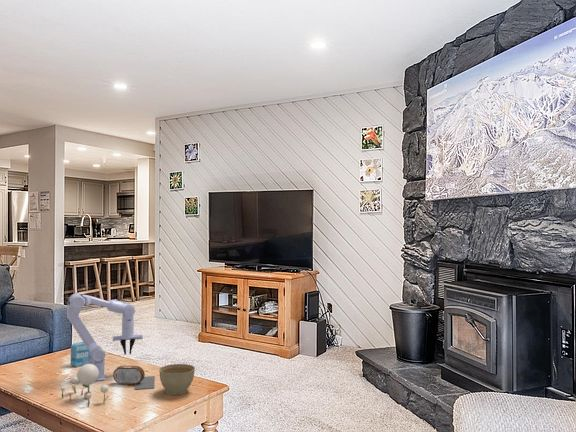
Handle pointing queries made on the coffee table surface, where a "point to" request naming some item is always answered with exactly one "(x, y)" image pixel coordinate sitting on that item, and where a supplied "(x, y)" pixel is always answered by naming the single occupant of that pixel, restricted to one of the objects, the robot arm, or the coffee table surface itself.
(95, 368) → the figurines
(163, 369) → the planter bowl
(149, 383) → the mat
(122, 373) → the tin
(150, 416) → the coffee table surface
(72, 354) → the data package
